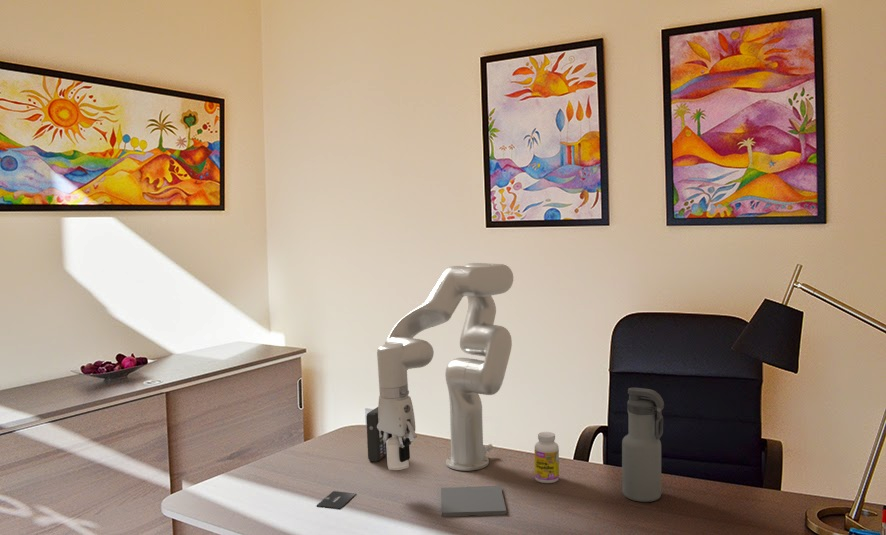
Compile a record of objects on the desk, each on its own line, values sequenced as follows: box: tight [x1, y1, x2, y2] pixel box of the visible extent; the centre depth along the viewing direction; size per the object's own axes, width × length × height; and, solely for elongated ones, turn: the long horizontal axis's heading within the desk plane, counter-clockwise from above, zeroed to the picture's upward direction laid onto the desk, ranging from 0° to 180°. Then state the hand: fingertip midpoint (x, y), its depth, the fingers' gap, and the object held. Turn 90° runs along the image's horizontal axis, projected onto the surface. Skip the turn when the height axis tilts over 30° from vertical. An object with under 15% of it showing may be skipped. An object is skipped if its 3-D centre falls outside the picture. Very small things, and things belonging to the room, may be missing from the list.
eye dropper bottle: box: [386, 434, 410, 471], centre depth 195 cm, size 4×6×12 cm
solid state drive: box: [315, 490, 357, 510], centre depth 194 cm, size 7×10×1 cm
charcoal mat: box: [440, 485, 507, 517], centre depth 190 cm, size 16×16×1 cm
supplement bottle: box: [534, 431, 560, 484], centre depth 204 cm, size 7×7×13 cm
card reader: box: [365, 406, 386, 462], centre depth 225 cm, size 9×4×15 cm, turn 159°
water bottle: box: [621, 387, 665, 503], centre depth 190 cm, size 10×10×28 cm
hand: (397, 457), depth 195 cm, fingers closed on eye dropper bottle, 4 cm apart
